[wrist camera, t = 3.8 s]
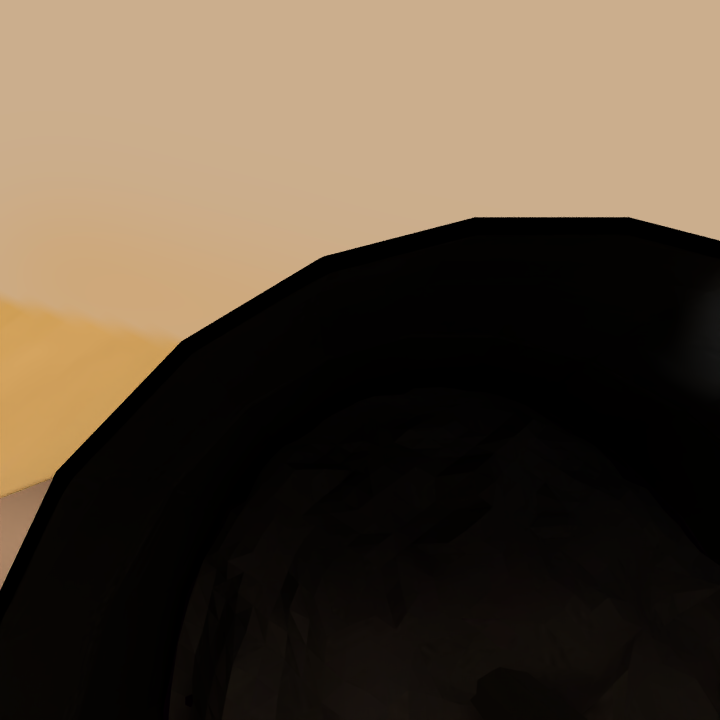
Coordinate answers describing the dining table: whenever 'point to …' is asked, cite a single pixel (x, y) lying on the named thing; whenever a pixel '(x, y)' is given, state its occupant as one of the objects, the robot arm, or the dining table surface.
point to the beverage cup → (401, 496)
